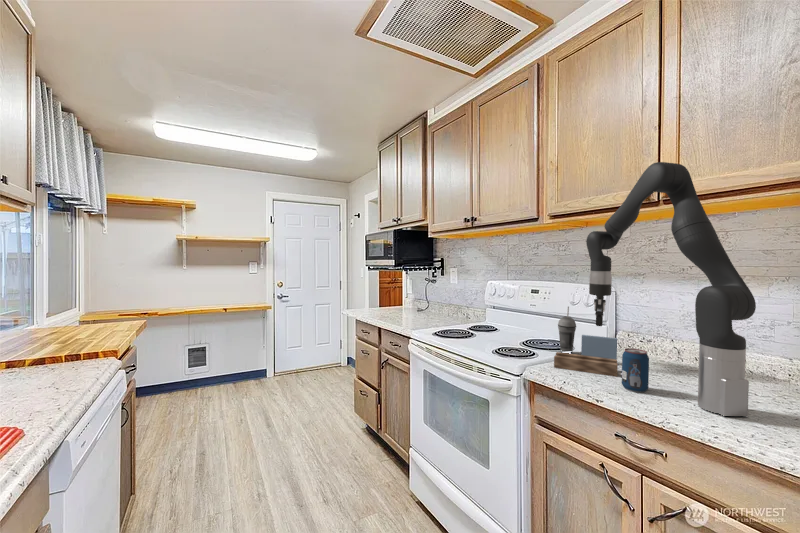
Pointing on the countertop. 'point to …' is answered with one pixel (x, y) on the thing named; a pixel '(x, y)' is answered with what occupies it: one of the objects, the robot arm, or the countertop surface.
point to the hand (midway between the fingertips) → (599, 324)
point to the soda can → (635, 370)
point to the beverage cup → (566, 332)
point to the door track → (586, 363)
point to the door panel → (599, 346)
